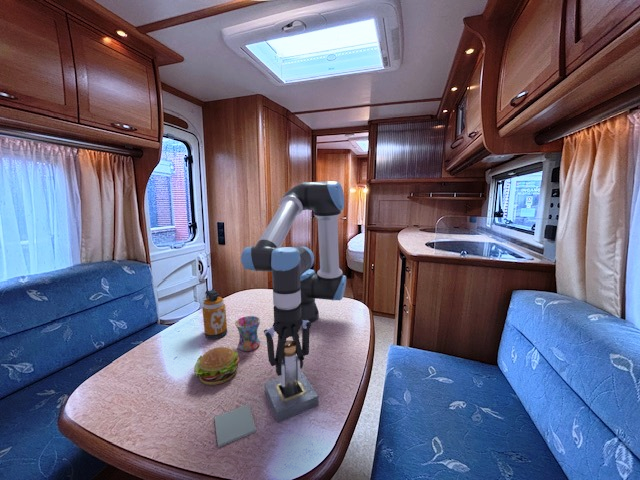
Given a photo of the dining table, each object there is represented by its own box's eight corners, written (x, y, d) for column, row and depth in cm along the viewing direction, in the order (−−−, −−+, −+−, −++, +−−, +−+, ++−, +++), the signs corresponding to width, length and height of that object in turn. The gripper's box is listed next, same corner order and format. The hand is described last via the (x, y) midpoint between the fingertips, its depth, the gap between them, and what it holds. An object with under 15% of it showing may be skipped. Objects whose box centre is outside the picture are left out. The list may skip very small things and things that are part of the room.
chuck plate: (301, 379, 83) (301, 370, 82) (318, 405, 72) (318, 395, 72) (265, 392, 77) (264, 382, 77) (277, 422, 67) (276, 412, 66)
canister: (209, 342, 105) (204, 296, 101) (200, 332, 113) (196, 289, 110) (230, 334, 110) (227, 290, 107) (221, 325, 119) (217, 284, 115)
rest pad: (248, 406, 72) (248, 404, 72) (256, 431, 64) (256, 429, 64) (214, 418, 68) (214, 417, 68) (218, 447, 60) (217, 445, 60)
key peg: (294, 387, 77) (293, 338, 75) (300, 397, 74) (298, 346, 71) (281, 392, 75) (279, 342, 73) (286, 402, 72) (284, 350, 69)
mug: (251, 355, 96) (249, 329, 94) (231, 350, 99) (229, 324, 98) (269, 339, 107) (268, 315, 105) (251, 334, 110) (249, 311, 108)
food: (206, 360, 93) (204, 340, 92) (244, 361, 93) (243, 340, 91) (185, 388, 80) (182, 365, 78) (230, 389, 79) (228, 365, 78)
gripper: (309, 294, 77) (311, 364, 81) (252, 305, 70) (257, 382, 73) (321, 303, 71) (322, 379, 74) (259, 316, 63) (264, 400, 67)
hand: (290, 381), depth 74 cm, fingers closed on key peg, 4 cm apart
